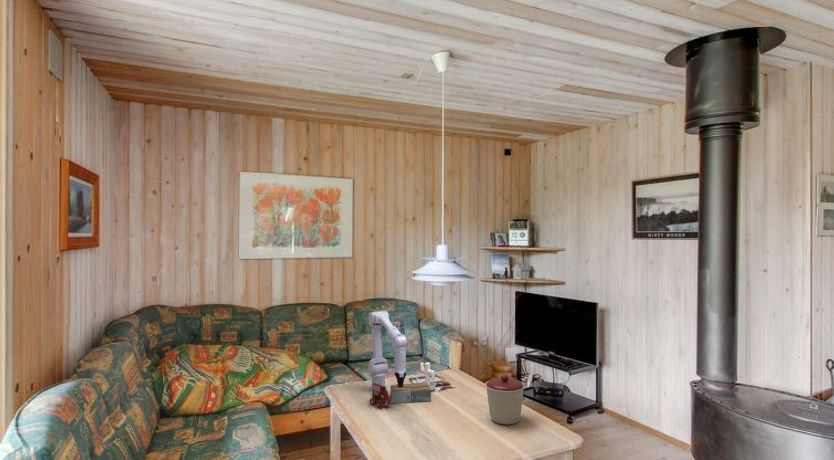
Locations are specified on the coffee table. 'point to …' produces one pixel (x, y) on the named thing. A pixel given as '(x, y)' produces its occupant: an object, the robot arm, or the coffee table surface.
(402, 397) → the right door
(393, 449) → the coffee table surface
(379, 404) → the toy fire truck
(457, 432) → the coffee table surface
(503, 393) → the canister
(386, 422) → the coffee table surface
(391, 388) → the cabinet
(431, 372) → the figurine
